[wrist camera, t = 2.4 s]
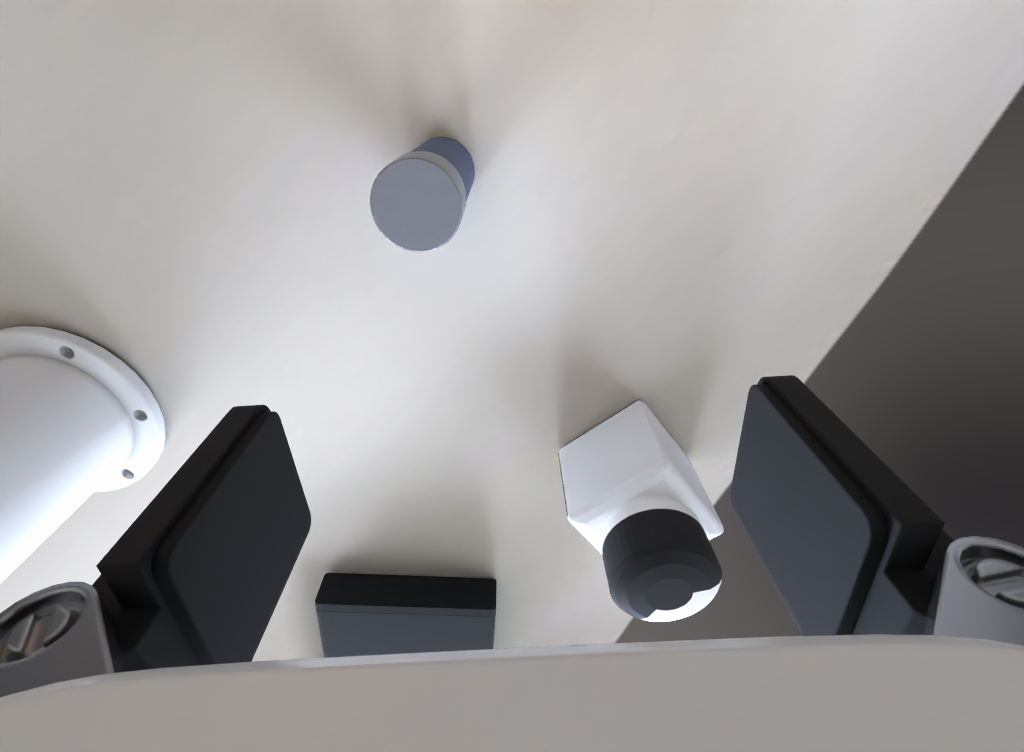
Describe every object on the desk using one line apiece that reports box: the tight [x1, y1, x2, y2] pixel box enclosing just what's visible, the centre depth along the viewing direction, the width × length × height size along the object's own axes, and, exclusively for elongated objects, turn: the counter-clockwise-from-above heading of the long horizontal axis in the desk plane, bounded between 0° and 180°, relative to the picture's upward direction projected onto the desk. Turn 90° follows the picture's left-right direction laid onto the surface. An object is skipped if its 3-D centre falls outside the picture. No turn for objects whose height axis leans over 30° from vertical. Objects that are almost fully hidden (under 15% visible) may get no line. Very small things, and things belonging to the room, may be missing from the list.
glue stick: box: [370, 137, 474, 252], centre depth 24 cm, size 4×4×10 cm
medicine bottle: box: [558, 400, 724, 622], centre depth 33 cm, size 7×7×12 cm
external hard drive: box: [315, 573, 496, 658], centre depth 48 cm, size 14×23×3 cm, turn 176°
